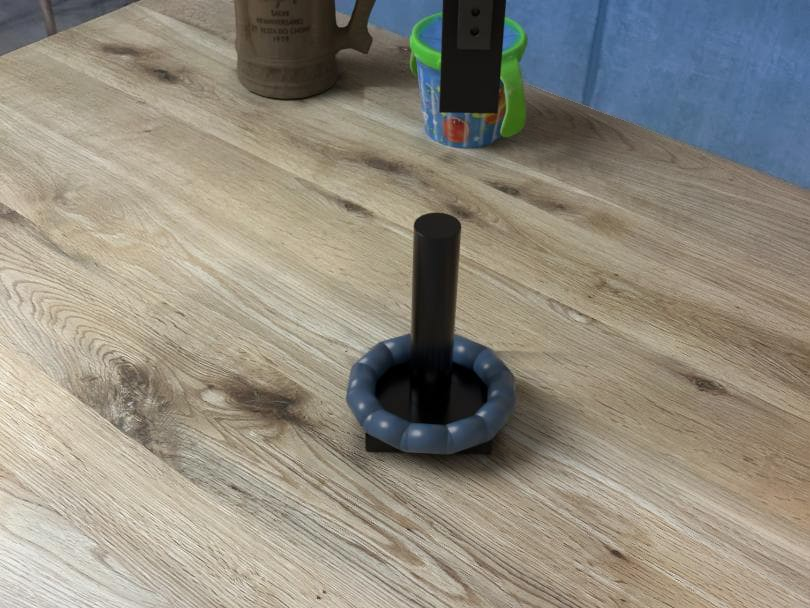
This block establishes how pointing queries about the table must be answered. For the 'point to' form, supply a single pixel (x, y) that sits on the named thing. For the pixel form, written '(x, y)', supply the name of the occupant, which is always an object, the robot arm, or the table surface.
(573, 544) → the table surface
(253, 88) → the beer stein
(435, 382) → the post
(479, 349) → the ring
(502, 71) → the snack cup
